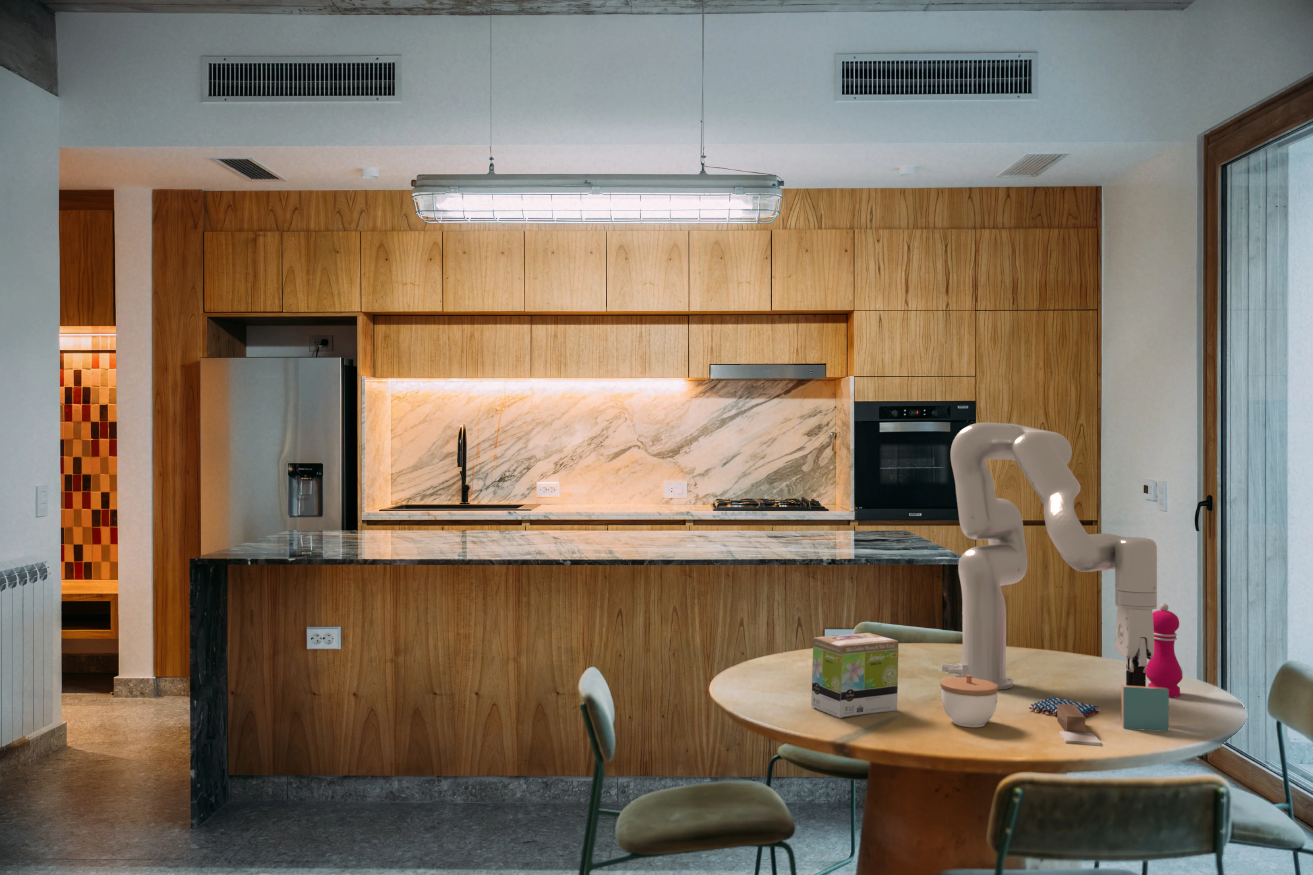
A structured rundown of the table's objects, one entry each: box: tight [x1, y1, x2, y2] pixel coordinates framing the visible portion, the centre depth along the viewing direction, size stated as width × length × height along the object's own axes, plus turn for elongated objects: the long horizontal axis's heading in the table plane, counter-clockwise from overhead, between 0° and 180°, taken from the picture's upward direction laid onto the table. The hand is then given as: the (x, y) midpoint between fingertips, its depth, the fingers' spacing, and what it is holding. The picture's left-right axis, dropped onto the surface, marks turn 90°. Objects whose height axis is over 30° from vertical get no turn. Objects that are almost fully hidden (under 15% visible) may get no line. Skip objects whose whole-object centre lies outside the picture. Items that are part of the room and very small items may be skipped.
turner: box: [1056, 704, 1102, 747], centre depth 181 cm, size 6×15×4 cm, turn 168°
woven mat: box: [1028, 696, 1099, 718], centre depth 195 cm, size 10×11×2 cm
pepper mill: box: [1146, 603, 1184, 698], centre depth 211 cm, size 7×7×20 cm
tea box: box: [810, 632, 900, 719], centre depth 196 cm, size 15×10×15 cm
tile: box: [1120, 684, 1170, 732], centre depth 184 cm, size 8×2×8 cm, turn 78°
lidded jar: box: [940, 675, 999, 728], centre depth 187 cm, size 11×11×9 cm
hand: (1135, 691), depth 190 cm, fingers closed
